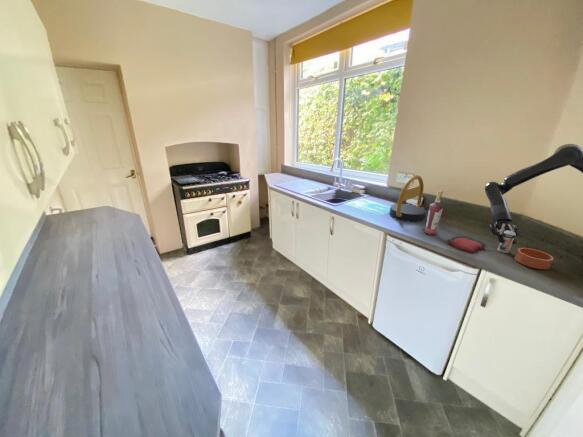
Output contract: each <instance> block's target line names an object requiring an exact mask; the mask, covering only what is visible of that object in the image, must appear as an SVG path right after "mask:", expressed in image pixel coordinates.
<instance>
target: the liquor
mask: <svg viewBox="0 0 583 437" xmlns="http://www.w3.org/2000/svg"><path fill="white" fill-rule="evenodd" d="M443 192H444V191H443V190H440V189H439V190H437V192H436V197H435V200H434V202H432V203H430V204H429V208H428V211H427V218H426V222H425V223H426V224H425V227H424V228H425V229H424V230H423V231H424V233H425V234H426V233H427V234H426V235H429V234H431V235H430V236H434V235H436V234H437V229H438V226H439V222H440V220H441V216H442V213H443V210H444V207H445V206H444V205H443V204H442V203H441V200H442V195H443Z"/></svg>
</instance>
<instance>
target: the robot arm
mask: <svg viewBox="0 0 583 437" xmlns="http://www.w3.org/2000/svg"><path fill="white" fill-rule="evenodd" d="M568 166H570V167H571V168H573V169H576V170H578V172H580V173H581V174H583V148H582V147H581V146H580V145H578V144H575V143H566V144H562V145H560V146H558V147H557V148H556V149H555V150H554V152H553V154H552V155H550V156H549V157H547V158H545V159H544V160H541V161H540V162H537V163H535V164H532V165H530V166H527V167H524V168H522V169H519V170H517V171H515V172H513V173H511V174H509V175H507V176H505V177H504V178H503V181H502V183H499V182H497V181H488V183H486V184H485V186H484V192H485V195H486V197H487V199H488V201H489V205H490V208H491V209H490V210H491V217H492V220H493V223H491V224H489V225H488V228H489V229H490V231H491V233H492V235H493V236H496V237H497V239H498V242H499V244H500V243H503V242H504V238H503V233H504V232H505V231H506V230H510V231H513V232H515V234H516V235H515V237H514V240H513V243H512V245H514V244H516V243H517V238H516V237H519V236H520V228H521V227H520V225H516V224H515V225H514V224H513V223H512V220H513V219H512V215H511V212H510V209H509V206H508V203H507V199H506V198H505V196H504V195H505V194H507V193H508V192H509V191H511V190H513V188H515V187H518V186H520V185H522V184H525V183H526V182H529V181H531V180H533V179H536V178H537V177H539V176H542V175H544V174H547V173H549V172H552V171H556V170H558V169H561V168H564V167H568Z"/></svg>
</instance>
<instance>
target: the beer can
mask: <svg viewBox="0 0 583 437" xmlns="http://www.w3.org/2000/svg"><path fill="white" fill-rule="evenodd" d="M502 235H503V238H504V242H503V243H500V242H499V244H498V246H497V251H498V252H500V253H502V254H509V253H510V250H511V247H512V246H513V244H512V243H513V240H514V237H515V235H516V234H515V232H513V231H510V230H506V231H503V234H502ZM515 238H516V237H515Z"/></svg>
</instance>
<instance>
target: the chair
mask: <svg viewBox="0 0 583 437" xmlns="http://www.w3.org/2000/svg"><path fill="white" fill-rule="evenodd" d="M415 180H418V184H419V185H415V186H412V187H410V185H411V184H412V182H414V181H415ZM424 188H425V186H424V180H423V177H422V176H421V175H419V174H415V175H413V176H411V177H409V179H407V181H406V182H405V184H404V185H403V186H402V189H401V191H400V193H399V197H398V200H397V203H395V204H391V205H390V208H389V212H388V215H389V216H390V217H391V216H392V217H391V218H393V219H395V218H396V219H395V220H398V219H399V220H398V221H401V220H403V221H402V222H407V221H409V222H408V223H421V222H424V221H425V220H424V219H426V216H427V210H426V209H425V208H423V207H420V206H421V204H422V200H423V194H424ZM416 197H417V201H416V205H414V204H408V203H407V204H406V203H403V202H405V201H408V200H411V199H414V198H416ZM423 220H424V221H423ZM420 221H421V222H420Z"/></svg>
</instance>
